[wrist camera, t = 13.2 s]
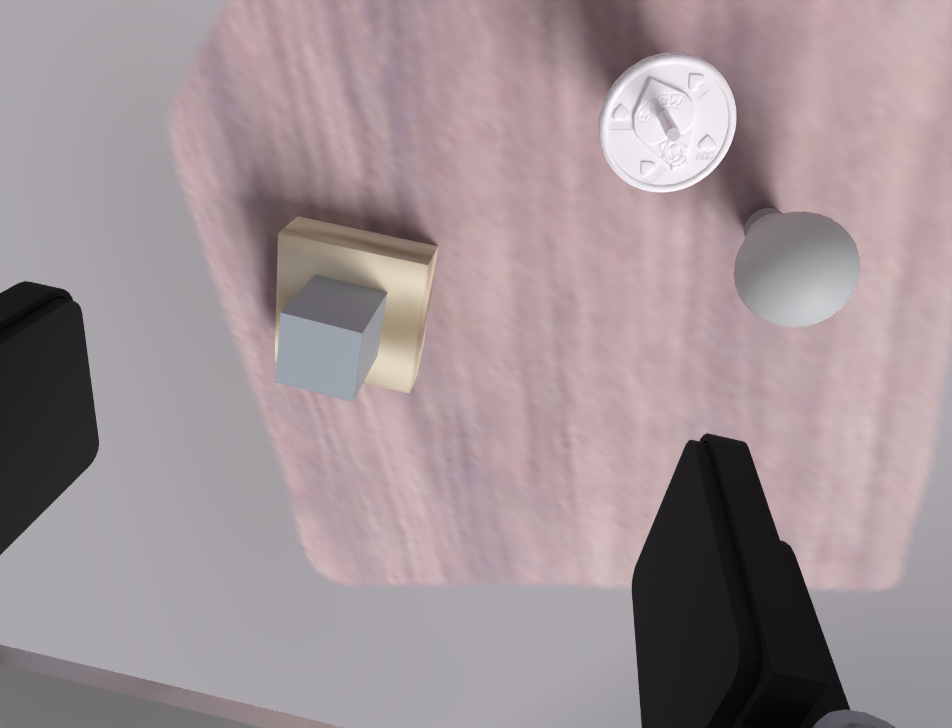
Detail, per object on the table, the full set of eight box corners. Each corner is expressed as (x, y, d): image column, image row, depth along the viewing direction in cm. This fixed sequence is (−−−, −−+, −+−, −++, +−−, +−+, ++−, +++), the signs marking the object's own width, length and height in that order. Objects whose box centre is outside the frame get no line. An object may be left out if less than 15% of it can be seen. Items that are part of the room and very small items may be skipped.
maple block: (299, 214, 48) (278, 232, 45) (439, 244, 48) (427, 265, 45) (294, 337, 54) (274, 363, 50) (421, 365, 53) (409, 393, 50)
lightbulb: (832, 188, 42) (902, 251, 33) (788, 278, 45) (841, 359, 36) (734, 164, 42) (777, 219, 33) (697, 255, 46) (726, 330, 36)
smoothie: (688, 15, 39) (734, 36, 27) (720, 124, 41) (775, 188, 29) (580, 66, 41) (578, 106, 29) (617, 167, 43) (629, 243, 31)
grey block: (314, 273, 46) (280, 312, 41) (387, 292, 46) (362, 333, 41) (308, 338, 49) (275, 382, 43) (377, 355, 49) (352, 402, 43)
